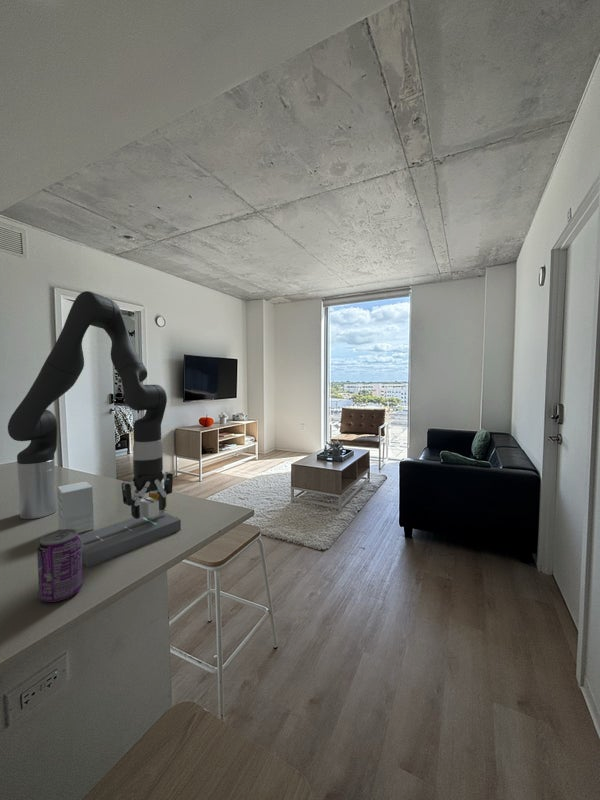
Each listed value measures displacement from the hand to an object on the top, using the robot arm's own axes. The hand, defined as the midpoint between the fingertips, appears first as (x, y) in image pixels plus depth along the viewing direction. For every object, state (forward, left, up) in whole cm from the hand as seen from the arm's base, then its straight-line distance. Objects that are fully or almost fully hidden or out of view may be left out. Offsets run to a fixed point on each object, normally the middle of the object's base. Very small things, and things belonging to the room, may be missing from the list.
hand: (149, 513), depth 93 cm
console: (0, -6, -5) cm, 8 cm away
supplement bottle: (-13, +10, -5) cm, 17 cm away
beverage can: (+12, -25, -5) cm, 28 cm away
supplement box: (-18, -12, -5) cm, 22 cm away
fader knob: (0, 0, -2) cm, 2 cm away
